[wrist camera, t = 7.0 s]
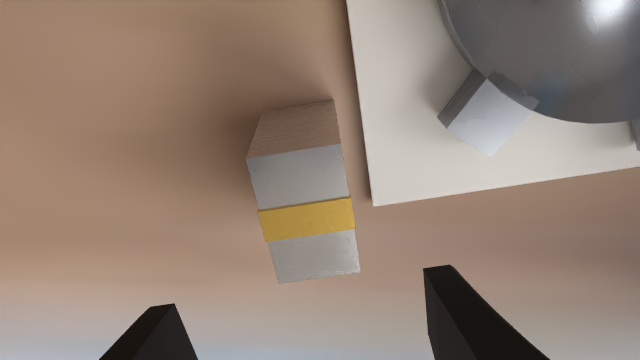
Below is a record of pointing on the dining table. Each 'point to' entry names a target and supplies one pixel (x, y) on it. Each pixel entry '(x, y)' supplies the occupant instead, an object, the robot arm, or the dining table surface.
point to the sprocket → (542, 65)
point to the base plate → (430, 99)
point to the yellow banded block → (303, 192)
